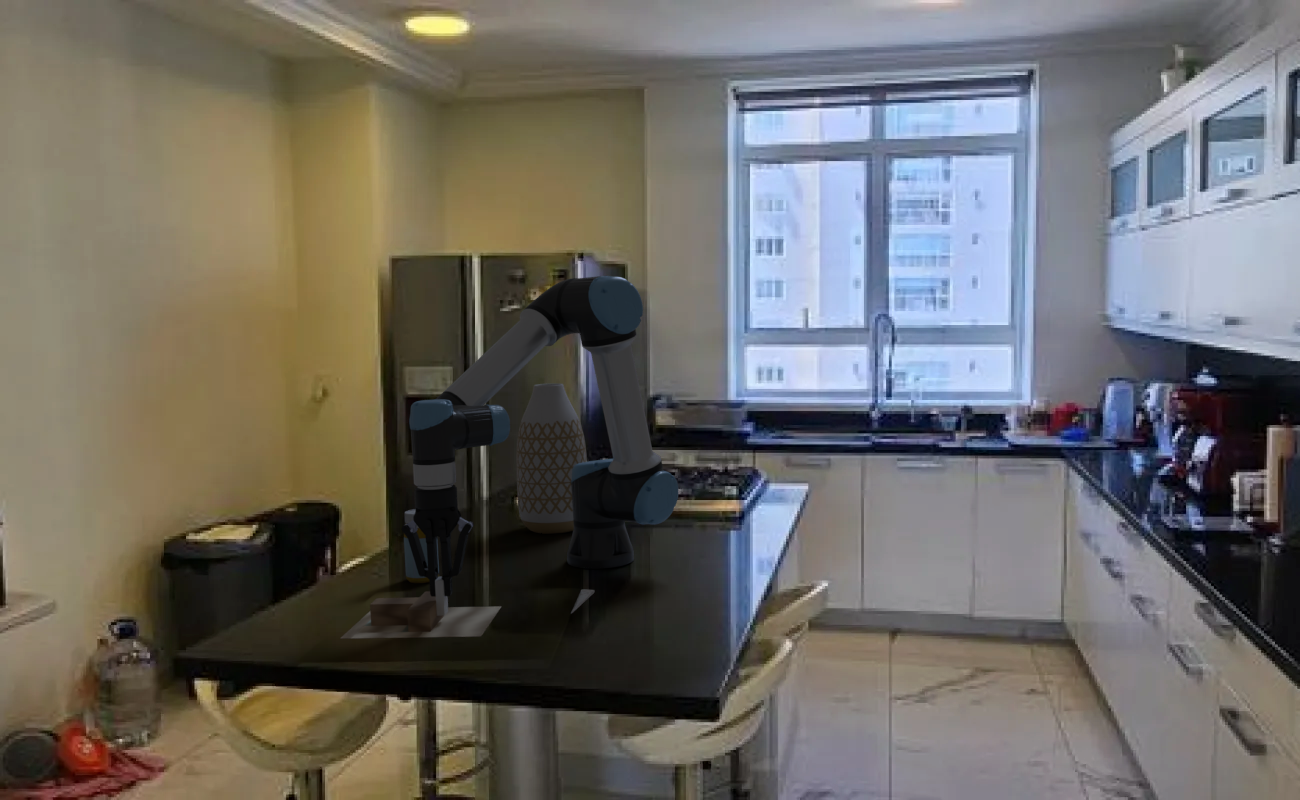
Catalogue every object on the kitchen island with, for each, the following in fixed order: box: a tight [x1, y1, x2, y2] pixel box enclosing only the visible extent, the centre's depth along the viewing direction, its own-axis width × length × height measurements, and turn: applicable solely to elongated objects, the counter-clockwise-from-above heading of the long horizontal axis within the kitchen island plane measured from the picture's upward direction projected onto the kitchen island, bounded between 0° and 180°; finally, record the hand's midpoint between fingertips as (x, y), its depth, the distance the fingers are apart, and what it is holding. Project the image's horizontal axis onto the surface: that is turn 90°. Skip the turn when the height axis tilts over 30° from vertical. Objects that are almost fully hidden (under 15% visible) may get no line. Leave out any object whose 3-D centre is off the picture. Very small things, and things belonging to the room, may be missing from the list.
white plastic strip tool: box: [570, 588, 595, 615], centre depth 205 cm, size 5×15×1 cm, turn 165°
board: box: [340, 605, 502, 640], centre depth 191 cm, size 25×18×1 cm
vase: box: [516, 383, 588, 535], centre depth 272 cm, size 19×18×38 cm
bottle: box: [403, 508, 440, 584], centre depth 225 cm, size 7×7×15 cm
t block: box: [369, 590, 443, 632], centre depth 191 cm, size 12×12×4 cm
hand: (442, 613), depth 191 cm, fingers closed
